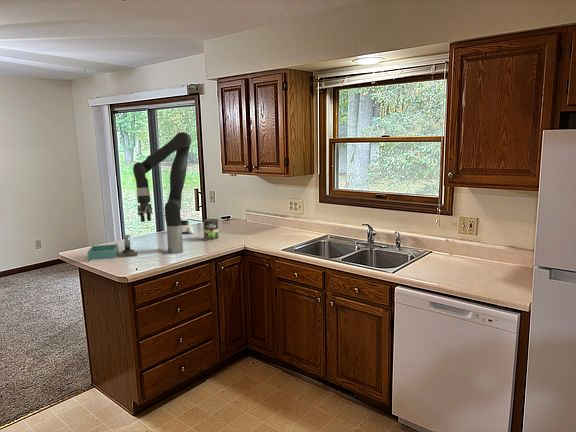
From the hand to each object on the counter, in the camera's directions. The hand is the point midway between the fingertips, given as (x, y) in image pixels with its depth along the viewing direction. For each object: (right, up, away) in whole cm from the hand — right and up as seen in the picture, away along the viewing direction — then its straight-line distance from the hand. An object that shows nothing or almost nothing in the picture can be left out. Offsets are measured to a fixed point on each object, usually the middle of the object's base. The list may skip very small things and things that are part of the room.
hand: (146, 221), depth 264 cm
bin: (-24, -22, -4) cm, 33 cm away
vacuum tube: (-10, -20, -3) cm, 23 cm away
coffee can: (+33, -14, +41) cm, 54 cm away
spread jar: (+10, -10, +62) cm, 64 cm away
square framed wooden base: (-10, -22, -3) cm, 24 cm away
